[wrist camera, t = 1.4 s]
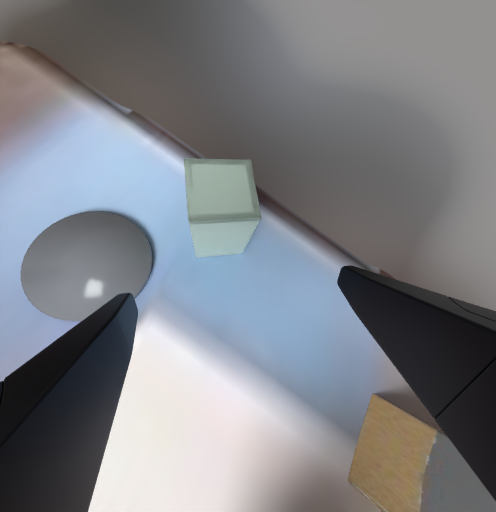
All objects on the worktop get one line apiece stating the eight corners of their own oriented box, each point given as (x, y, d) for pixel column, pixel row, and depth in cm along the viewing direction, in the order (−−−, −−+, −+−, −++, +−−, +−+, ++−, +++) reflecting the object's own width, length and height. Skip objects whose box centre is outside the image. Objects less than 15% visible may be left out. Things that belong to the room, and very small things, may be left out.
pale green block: (241, 253, 23) (261, 217, 14) (196, 257, 22) (188, 221, 13) (236, 214, 24) (250, 160, 16) (192, 215, 23) (183, 158, 15)
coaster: (174, 252, 22) (173, 250, 21) (95, 345, 18) (91, 346, 17) (92, 196, 22) (89, 192, 21) (-5, 277, 18) (-12, 275, 17)
